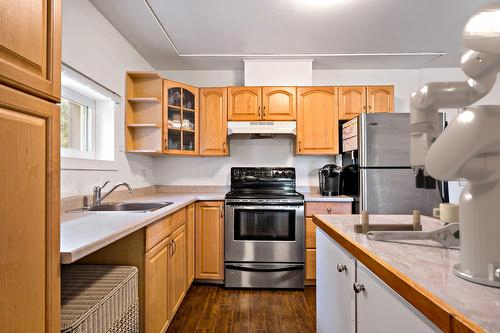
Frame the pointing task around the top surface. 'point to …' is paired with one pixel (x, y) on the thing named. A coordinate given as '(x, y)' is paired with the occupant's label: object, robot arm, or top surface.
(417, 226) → the peg rack
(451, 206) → the character mug
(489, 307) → the top surface
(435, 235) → the wrench
